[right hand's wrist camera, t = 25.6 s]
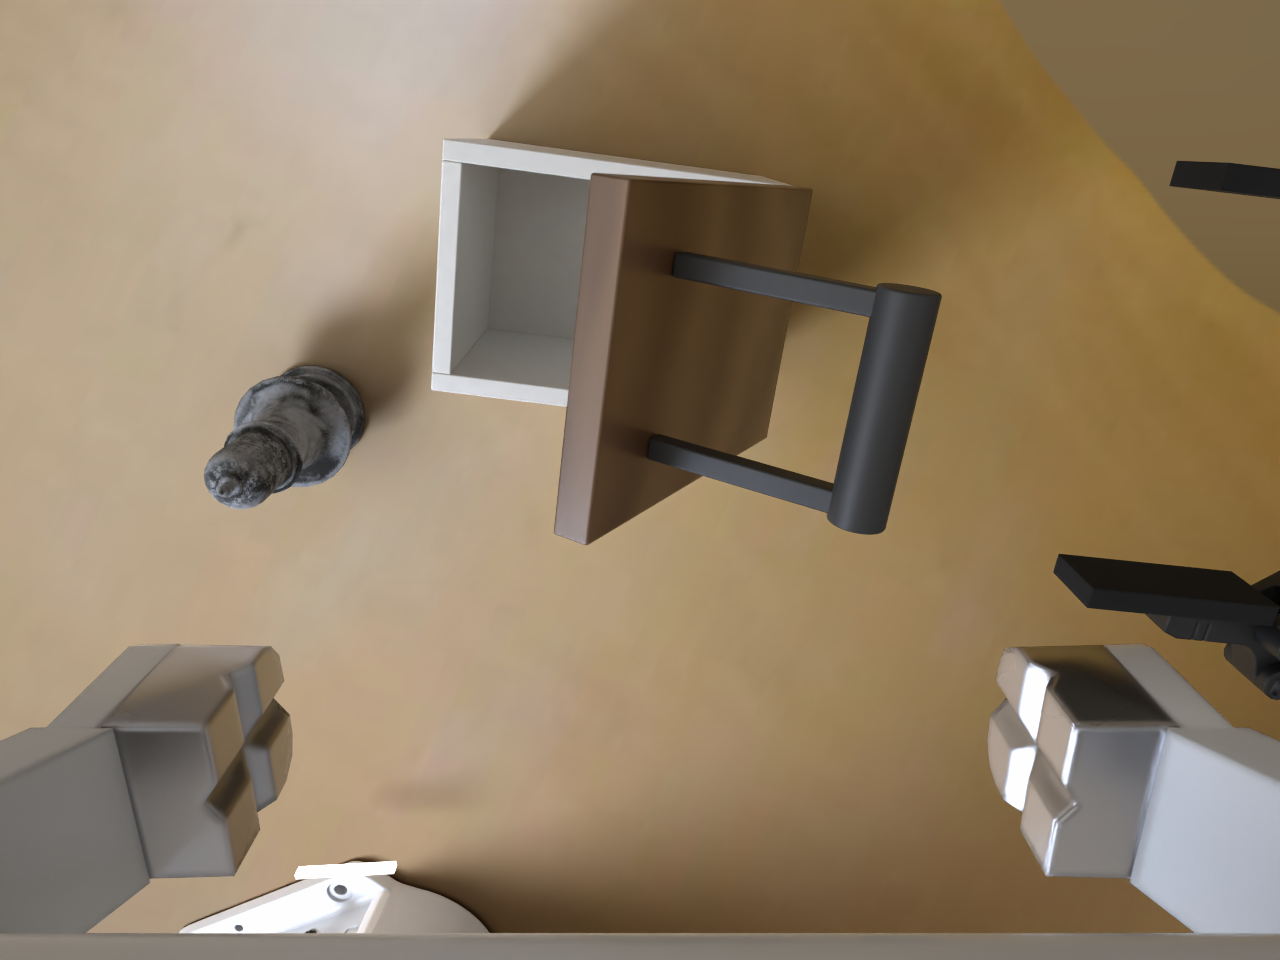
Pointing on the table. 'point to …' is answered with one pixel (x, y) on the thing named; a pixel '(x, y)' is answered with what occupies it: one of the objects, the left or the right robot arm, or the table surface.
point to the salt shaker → (286, 436)
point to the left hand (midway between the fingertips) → (1128, 393)
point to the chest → (518, 262)
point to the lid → (718, 354)
